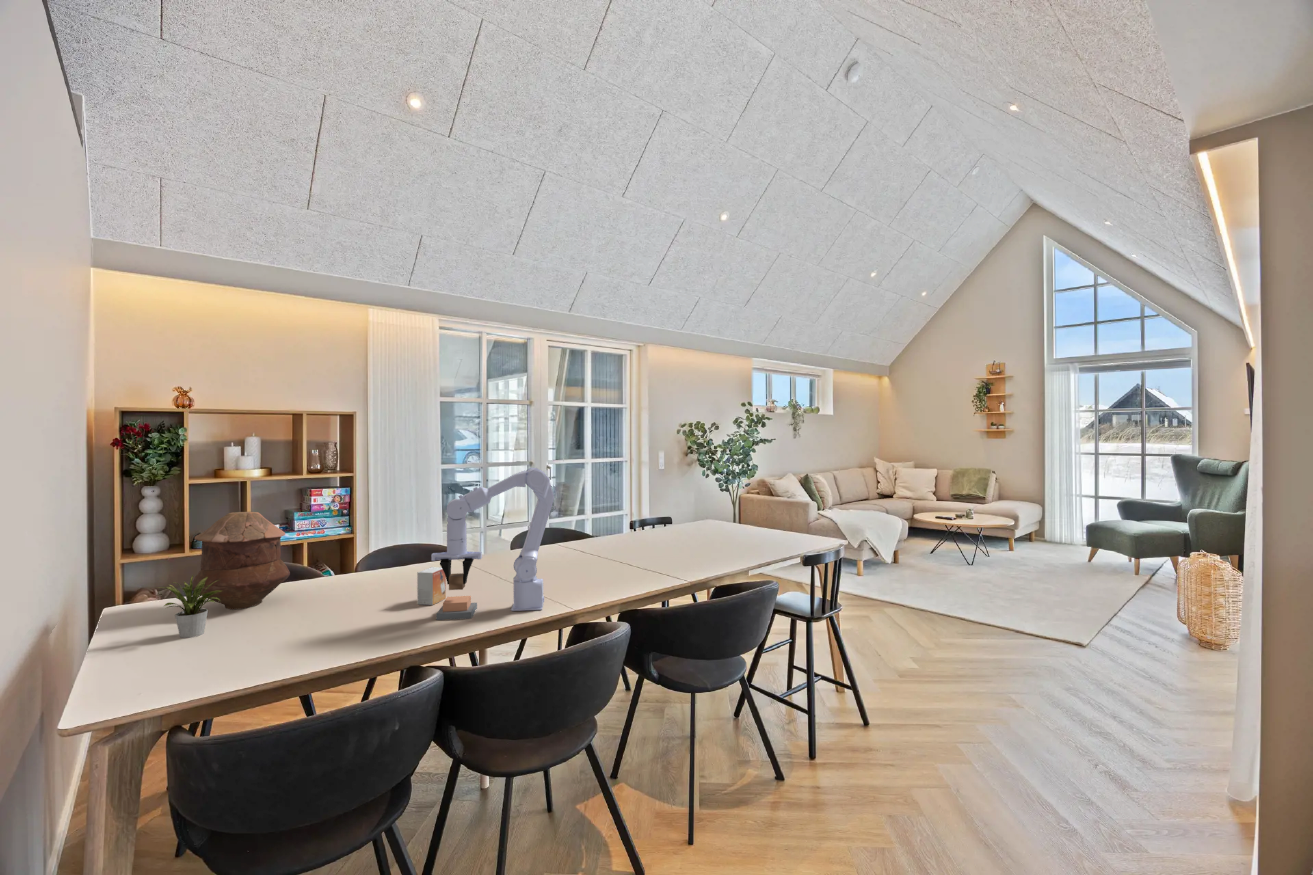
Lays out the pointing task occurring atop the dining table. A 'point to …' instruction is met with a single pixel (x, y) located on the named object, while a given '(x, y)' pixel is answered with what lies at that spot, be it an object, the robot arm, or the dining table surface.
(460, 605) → the terracotta tile
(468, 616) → the slate tile
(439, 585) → the small box
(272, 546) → the pottery vessel
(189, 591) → the house plant
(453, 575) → the walnut cube
